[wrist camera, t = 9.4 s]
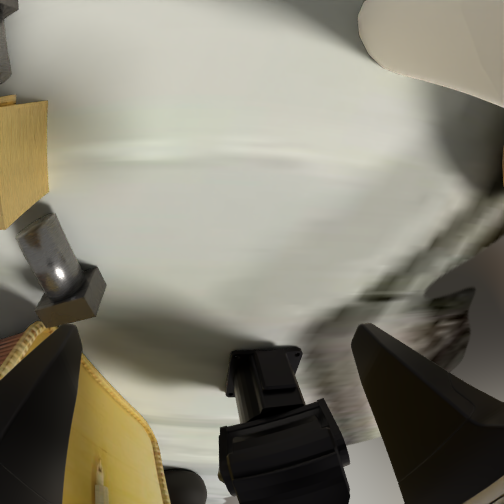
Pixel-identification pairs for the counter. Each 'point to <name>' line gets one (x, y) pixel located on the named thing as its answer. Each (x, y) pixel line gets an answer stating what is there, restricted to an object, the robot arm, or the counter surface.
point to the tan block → (22, 157)
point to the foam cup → (439, 42)
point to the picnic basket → (100, 436)
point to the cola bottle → (185, 487)
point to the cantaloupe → (503, 165)
